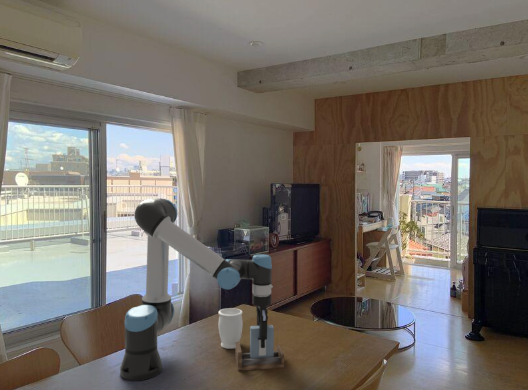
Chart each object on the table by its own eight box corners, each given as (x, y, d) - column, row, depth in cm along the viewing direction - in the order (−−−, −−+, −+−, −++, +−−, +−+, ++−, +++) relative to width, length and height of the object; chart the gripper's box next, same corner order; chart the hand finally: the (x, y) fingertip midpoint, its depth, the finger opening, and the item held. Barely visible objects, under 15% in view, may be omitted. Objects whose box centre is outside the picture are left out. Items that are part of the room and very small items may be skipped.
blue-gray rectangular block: (250, 359, 154) (251, 328, 153) (249, 355, 157) (250, 326, 156) (273, 357, 155) (273, 327, 155) (272, 354, 158) (272, 324, 158)
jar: (213, 347, 171) (213, 312, 170) (226, 338, 180) (226, 306, 180) (234, 352, 166) (234, 316, 165) (246, 343, 175) (246, 310, 175)
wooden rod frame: (237, 370, 149) (237, 352, 149) (235, 359, 159) (235, 341, 159) (284, 367, 152) (284, 349, 152) (279, 356, 162) (279, 339, 162)
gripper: (275, 299, 148) (274, 361, 148) (267, 288, 164) (267, 344, 164) (255, 300, 147) (255, 362, 147) (250, 289, 162) (249, 345, 163)
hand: (261, 352), depth 156 cm, fingers closed on blue-gray rectangular block, 3 cm apart
